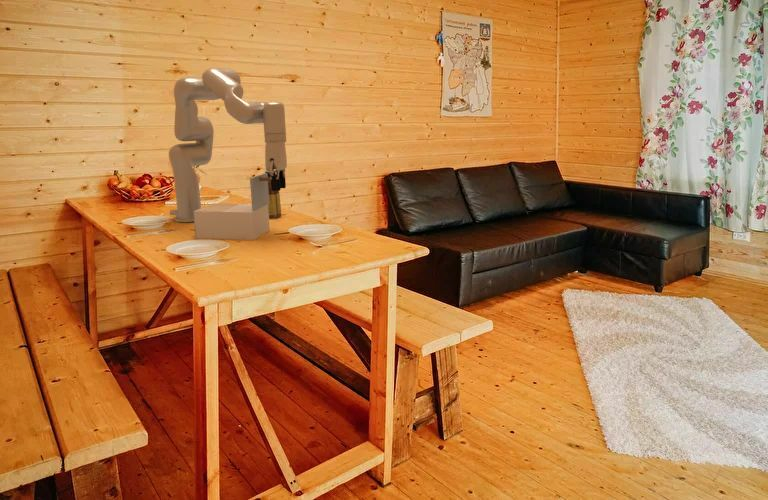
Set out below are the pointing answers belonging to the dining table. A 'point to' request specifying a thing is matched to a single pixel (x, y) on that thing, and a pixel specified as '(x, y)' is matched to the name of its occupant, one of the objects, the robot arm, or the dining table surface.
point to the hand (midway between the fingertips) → (278, 188)
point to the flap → (259, 191)
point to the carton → (231, 221)
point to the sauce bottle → (273, 201)
